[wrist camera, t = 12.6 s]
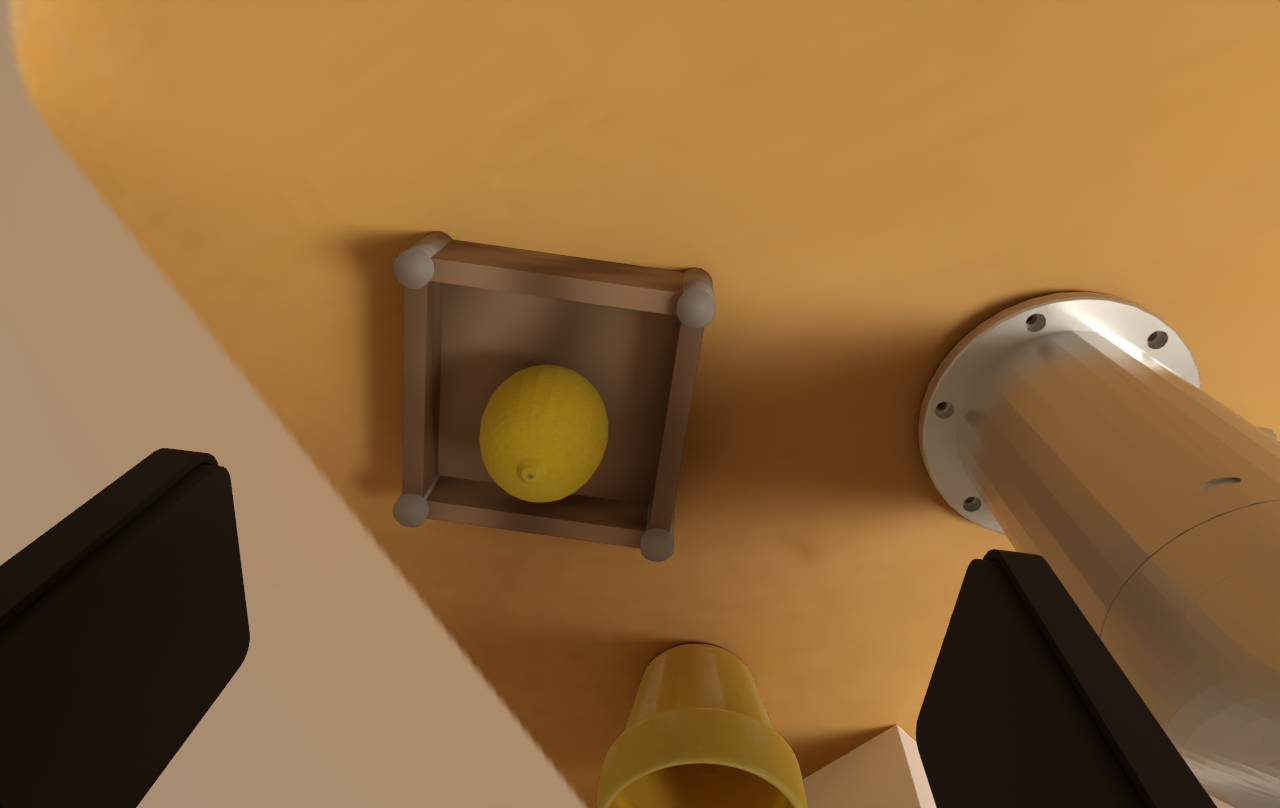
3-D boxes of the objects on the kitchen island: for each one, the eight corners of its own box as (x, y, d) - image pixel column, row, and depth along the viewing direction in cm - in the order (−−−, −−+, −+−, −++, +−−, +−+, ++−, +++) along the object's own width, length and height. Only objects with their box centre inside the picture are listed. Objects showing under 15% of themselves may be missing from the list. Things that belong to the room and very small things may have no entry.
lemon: (526, 457, 40) (493, 549, 33) (482, 359, 38) (436, 435, 31) (630, 427, 39) (619, 515, 32) (591, 325, 37) (570, 395, 30)
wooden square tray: (714, 270, 37) (717, 294, 33) (672, 519, 42) (670, 563, 39) (422, 229, 37) (392, 249, 33) (418, 483, 42) (392, 524, 39)
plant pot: (777, 757, 49) (796, 916, 40) (609, 745, 49) (591, 899, 40) (797, 622, 45) (825, 766, 36) (613, 610, 45) (595, 749, 36)
